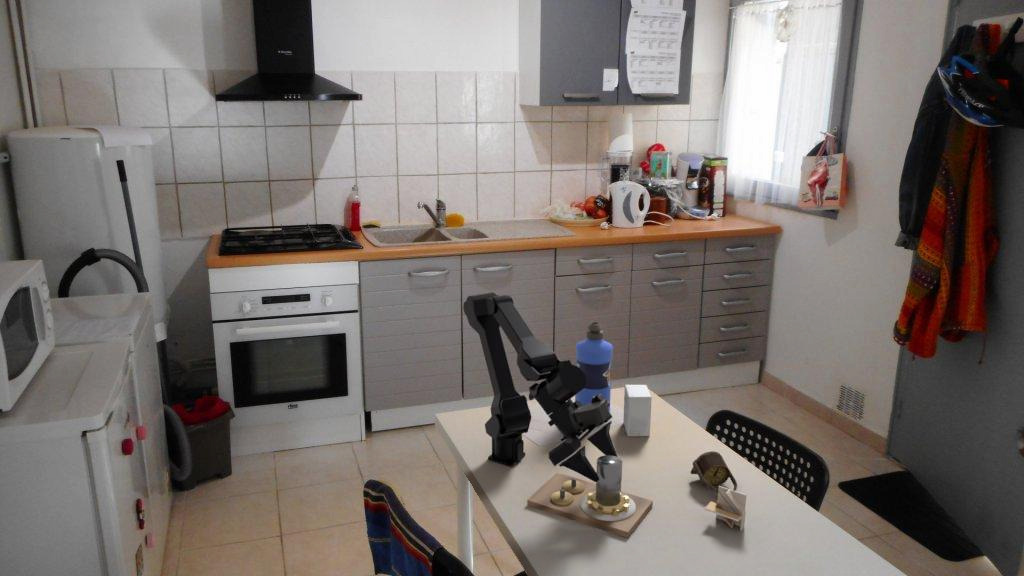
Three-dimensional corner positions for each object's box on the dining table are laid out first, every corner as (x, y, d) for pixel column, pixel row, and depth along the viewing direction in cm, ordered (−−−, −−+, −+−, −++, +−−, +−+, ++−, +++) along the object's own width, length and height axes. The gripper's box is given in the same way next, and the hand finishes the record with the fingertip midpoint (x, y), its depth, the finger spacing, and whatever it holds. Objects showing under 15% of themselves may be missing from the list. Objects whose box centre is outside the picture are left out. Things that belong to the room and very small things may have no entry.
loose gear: (579, 508, 150) (580, 464, 148) (597, 489, 157) (598, 447, 155) (619, 521, 146) (621, 476, 143) (636, 501, 153) (638, 457, 150)
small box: (650, 437, 183) (652, 397, 181) (626, 437, 184) (628, 397, 181) (645, 422, 191) (647, 384, 188) (622, 422, 191) (624, 384, 188)
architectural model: (737, 537, 144) (741, 502, 142) (703, 524, 148) (706, 491, 146) (744, 529, 147) (747, 495, 145) (710, 517, 151) (713, 483, 149)
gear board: (527, 505, 154) (527, 491, 153) (556, 477, 165) (557, 464, 164) (627, 537, 143) (628, 523, 142) (652, 505, 154) (653, 491, 153)
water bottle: (572, 421, 192) (574, 328, 185) (575, 406, 201) (578, 316, 194) (609, 424, 190) (613, 330, 184) (610, 408, 199) (614, 318, 192)
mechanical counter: (740, 454, 164) (695, 441, 165) (750, 479, 152) (701, 465, 153) (731, 484, 166) (686, 471, 167) (739, 510, 153) (690, 496, 154)
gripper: (564, 404, 140) (616, 472, 138) (605, 371, 156) (653, 433, 153) (527, 432, 146) (576, 499, 144) (570, 398, 162) (615, 458, 159)
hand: (607, 470), depth 150 cm, fingers open, 9 cm apart
